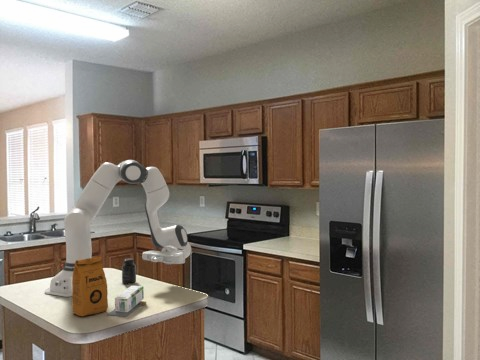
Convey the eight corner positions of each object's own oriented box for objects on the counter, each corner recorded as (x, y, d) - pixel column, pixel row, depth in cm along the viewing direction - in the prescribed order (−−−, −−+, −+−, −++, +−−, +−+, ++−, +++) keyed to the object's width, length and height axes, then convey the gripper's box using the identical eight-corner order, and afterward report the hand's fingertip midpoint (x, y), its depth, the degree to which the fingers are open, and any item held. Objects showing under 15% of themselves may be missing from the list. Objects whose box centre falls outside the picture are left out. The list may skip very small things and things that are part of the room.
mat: (107, 315, 160) (107, 314, 160) (123, 304, 173) (123, 303, 173) (125, 316, 158) (125, 315, 158) (140, 305, 171) (140, 304, 171)
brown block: (123, 303, 174) (123, 300, 174) (124, 302, 175) (124, 300, 175) (145, 305, 172) (145, 302, 172) (146, 304, 173) (146, 301, 173)
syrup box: (144, 298, 176) (128, 312, 162) (131, 298, 177) (114, 311, 163) (143, 286, 175) (127, 298, 161) (131, 285, 176) (114, 297, 162)
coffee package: (110, 312, 164) (110, 257, 163) (79, 320, 155) (79, 262, 155) (100, 306, 171) (99, 253, 170) (69, 313, 162) (69, 258, 162)
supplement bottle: (138, 282, 207) (138, 259, 206) (126, 285, 202) (126, 261, 201) (131, 280, 211) (131, 257, 211) (119, 283, 206) (119, 259, 206)
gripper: (152, 246, 205) (135, 251, 192) (188, 250, 197) (172, 255, 184) (151, 259, 205) (134, 264, 192) (187, 263, 197) (172, 269, 184)
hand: (153, 260), depth 188 cm, fingers closed
